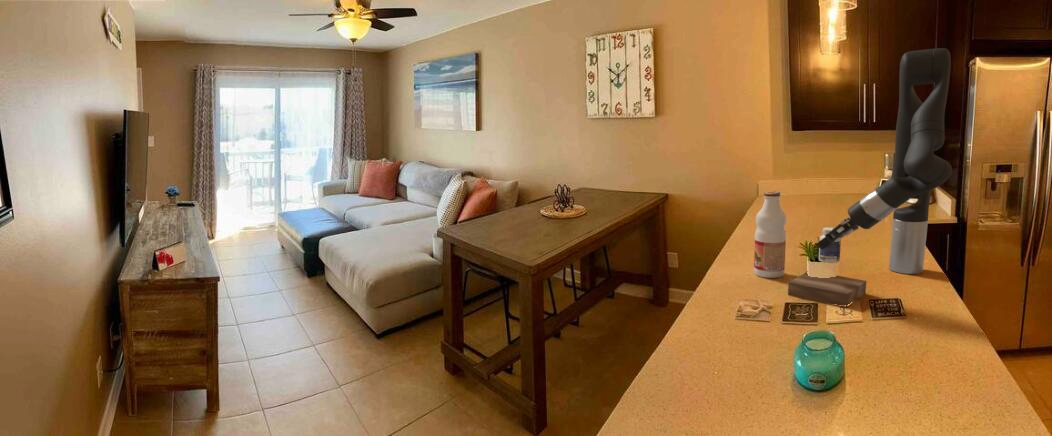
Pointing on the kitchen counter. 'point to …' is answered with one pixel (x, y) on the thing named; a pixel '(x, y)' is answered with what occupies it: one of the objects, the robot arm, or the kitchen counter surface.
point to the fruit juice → (770, 238)
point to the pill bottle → (830, 249)
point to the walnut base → (827, 289)
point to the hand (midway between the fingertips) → (823, 244)
